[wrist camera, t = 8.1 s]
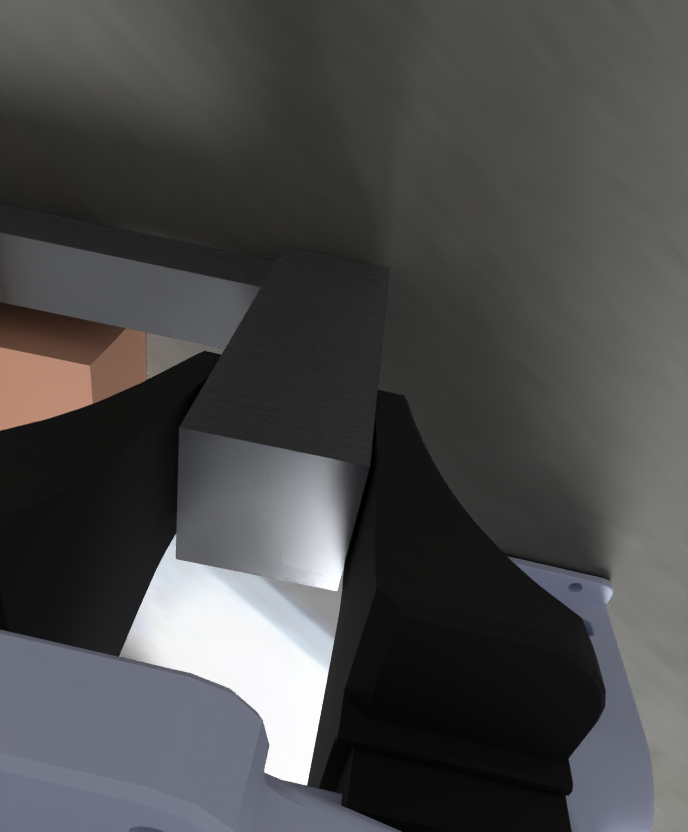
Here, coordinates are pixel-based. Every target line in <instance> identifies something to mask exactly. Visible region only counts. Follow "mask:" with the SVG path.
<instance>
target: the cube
mask: <svg viewBox="0 0 688 832" xmlns="http://www.w3.org/2000/svg"><path fill="white" fill-rule="evenodd" d="M144 381H146V332H142V331H137V330H132V329H128V328H123V327H118V326H113V325H108V324H103V323H99V322H94V321H89V320H84V319H79V318H74V317H70V316H65V315H60V314H55V313H50V312H46V311H41V310H36V309H31V308H26V307H21V306H17V305H12V304H7V303H2V302H0V431H1V430H5V429H9V428H13V427H17V426H21V425H25V424H29V423H33V422H37V421H41V420H45V419H48V418H52V417H55V416H58V415H61V414H64V413H67V412H70V411H74V410H77V409H80V408H82V407H85V406H88V405H91V404H93V403H96V402H98V401H101V400H103V399H106V398H108V397H110V396H112V395H115V394H117V393H119V392H122V391H124V390H126V389H128V388H131V387H133V386H135V385H137V384H140V383H142V382H144Z"/></svg>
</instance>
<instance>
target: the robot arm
mask: <svg viewBox="0 0 688 832" xmlns="http://www.w3.org/2000/svg"><path fill="white" fill-rule="evenodd" d="M220 357H221V355H220V354H216V353H212V352H207V351H203V352H201V353H199V354H197V355H195V356H193V357H191V358H189V359H187V360H185V361H183V362H181V363H179V364H177V365H175V366H173V367H172V368H170V369H168V370H166V371H164V372H162V373H160V374H158V375H156V376H154V377H152V378H150V379H148V380H146V381H144V382H142V383H140V384H137V385H135V386H133V387H131V388H128V389H126V390H124V391H122V392H119V393H117V394H115V395H112V396H110V397H108V398H106V399H103V400H101V401H98V402H96V403H93V404H91V405H88V406H85V407H82V408H80V409H77V410H74V411H70V412H67V413H64V414H61V415H58V416H55V417H52V418H48V419H45V420H41V421H37V422H33V423H29V424H25V425H21V426H17V427H13V428H9V429H5V430H1V431H0V832H651V831H652V825H653V813H654V785H653V773H652V764H651V759H650V753H649V748H648V744H647V741H646V737H645V733H644V730H643V727H642V723H641V720H640V717H639V714H638V710H637V707H636V704H635V700H634V697H633V694H632V691H631V687H630V684H629V681H628V677H627V674H626V671H625V668H624V664H623V661H622V658H621V655H620V651H619V648H618V645H617V641H616V638H615V635H614V632H613V628H612V625H611V622H610V618H609V615H608V612H607V609H606V604H607V603H608V601H609V600H610V598H611V597H612V595H613V588H612V585H611V583H610V582H609V581H608V580H607V579H604V578H600V577H596V576H592V575H587V574H583V573H579V572H574V571H570V570H565V569H561V568H557V567H552V566H548V565H544V564H539V563H535V562H530V561H526V560H522V559H517V558H513V557H509V556H506V555H505V554H504V553H503V552H502V551H501V550H500V549H499V548H498V547H497V546H496V545H495V544H494V543H493V542H492V541H491V539H490V538H489V537H488V536H487V535H486V534H485V533H484V532H483V531H482V530H481V529H480V527H479V526H478V525H477V524H476V523H475V522H474V521H473V519H472V518H471V517H470V516H469V515H468V513H467V512H466V511H465V509H464V508H463V507H462V505H461V504H460V503H459V501H458V500H457V499H456V497H455V496H454V495H453V493H452V492H451V490H450V489H449V487H448V486H447V484H446V482H445V481H444V479H443V477H442V476H441V474H440V472H439V471H438V469H437V467H436V465H435V463H434V462H433V460H432V458H431V456H430V454H429V452H428V450H427V448H426V446H425V444H424V442H423V440H422V438H421V435H420V433H419V431H418V429H417V426H416V424H415V421H414V419H413V416H412V413H411V411H410V408H409V405H408V401H407V400H406V398H405V397H404V396H403V395H399V394H394V393H390V392H385V391H381V390H377V401H376V411H375V421H374V431H373V441H372V452H371V462H370V468H369V472H368V476H367V480H366V484H365V487H364V491H363V495H362V499H361V502H360V506H359V510H358V514H357V518H356V521H355V525H354V529H353V533H352V536H351V540H350V544H349V548H348V551H347V555H346V559H345V563H344V574H343V587H342V597H341V605H340V612H339V618H338V623H337V629H336V634H335V640H334V645H333V651H332V657H331V662H330V667H329V673H328V678H327V684H326V689H325V695H324V700H323V705H322V711H321V716H320V721H319V726H318V732H317V737H316V742H315V748H314V753H313V758H312V763H311V769H310V774H309V779H308V784H307V786H305V785H301V784H297V783H292V782H288V781H284V780H280V779H278V778H276V777H273V776H271V775H269V774H266V773H264V768H265V763H266V758H267V754H268V749H269V742H268V739H267V735H266V731H265V727H264V724H263V720H262V718H261V717H260V716H259V714H258V713H257V712H256V711H255V710H254V709H253V708H252V707H251V706H249V705H248V704H247V703H246V702H245V701H244V700H243V699H241V698H240V697H239V696H238V695H237V694H236V693H234V692H233V691H232V690H231V689H229V688H227V687H224V686H222V685H219V684H217V683H214V682H212V681H209V680H206V679H204V678H201V677H199V676H196V675H194V674H191V673H187V672H183V671H178V670H174V669H169V668H165V667H161V666H156V665H152V664H148V663H143V662H139V661H135V660H130V659H126V658H121V657H119V655H120V652H121V650H122V648H123V645H124V643H125V640H126V638H127V636H128V633H129V631H130V629H131V626H132V624H133V621H134V619H135V617H136V614H137V612H138V610H139V607H140V605H141V603H142V601H143V598H144V596H145V594H146V591H147V589H148V587H149V585H150V582H151V580H152V578H153V576H154V573H155V571H156V569H157V567H158V565H159V563H160V561H161V559H162V557H163V555H164V554H165V552H166V550H167V548H168V546H169V545H170V543H171V541H172V540H173V538H174V536H175V534H176V532H177V492H178V452H179V427H180V425H181V423H182V422H183V420H184V418H185V417H186V415H187V413H188V411H189V410H190V408H191V406H192V405H193V403H194V401H195V399H196V398H197V396H198V394H199V393H200V391H201V389H202V387H203V386H204V384H205V382H206V381H207V379H208V377H209V375H210V374H211V372H212V370H213V369H214V367H215V365H216V363H217V362H218V360H219V358H220ZM573 583H578V584H574V585H573Z"/></svg>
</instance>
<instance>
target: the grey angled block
mask: <svg viewBox="0 0 688 832" xmlns="http://www.w3.org/2000/svg"><path fill="white" fill-rule="evenodd" d="M388 278H389V268H388V267H383V266H378V265H374V264H369V263H364V262H360V261H355V260H350V259H345V258H341V257H336V256H331V255H326V254H322V253H317V252H312V251H307V250H303V249H298V248H293V247H288V246H285V247H284V249H283V250H282V252H281V254H280V255H279V257H278V259H277V261H272V260H267V259H262V258H258V257H253V256H248V255H243V254H239V253H234V252H229V251H224V250H220V249H215V248H210V247H205V246H201V245H196V244H191V243H186V242H182V241H177V240H172V239H167V238H163V237H158V236H153V235H148V234H144V233H139V232H134V231H129V230H124V229H120V228H115V227H110V226H105V225H101V224H96V223H91V222H86V221H82V220H77V219H72V218H67V217H63V216H58V215H53V214H48V213H44V212H39V211H34V210H29V209H25V208H20V207H15V206H10V205H6V204H1V203H0V302H2V303H7V304H12V305H17V306H21V307H26V308H31V309H36V310H41V311H46V312H50V313H55V314H60V315H65V316H70V317H74V318H79V319H84V320H89V321H94V322H99V323H103V324H108V325H113V326H118V327H123V328H128V329H132V330H137V331H142V332H147V333H152V334H157V335H161V336H166V337H171V338H176V339H181V340H186V341H190V342H195V343H200V344H205V345H210V346H214V347H219V348H224V349H225V350H224V351H223V353H222V355H221V357H220V358H219V360H218V362H217V363H216V365H215V367H214V369H213V370H212V372H211V374H210V375H209V377H208V379H207V381H206V382H205V384H204V386H203V387H202V389H201V391H200V393H199V394H198V396H197V398H196V399H195V401H194V403H193V405H192V406H191V408H190V410H189V411H188V413H187V415H186V417H185V418H184V420H183V422H182V423H181V425H180V427H179V452H178V492H177V532H176V559H179V560H184V561H189V562H194V563H199V564H204V565H209V566H214V567H219V568H224V569H229V570H234V571H239V572H244V573H249V574H254V575H259V576H264V577H269V578H274V579H279V580H284V581H289V582H294V583H299V584H304V585H309V586H314V587H319V588H324V589H329V590H334V591H337V589H338V585H339V582H340V578H341V574H342V570H343V567H344V563H345V559H346V555H347V551H348V548H349V544H350V540H351V536H352V533H353V529H354V525H355V521H356V518H357V514H358V510H359V506H360V502H361V499H362V495H363V491H364V487H365V484H366V480H367V476H368V472H369V468H370V462H371V452H372V441H373V431H374V421H375V411H376V401H377V390H378V380H379V370H380V360H381V350H382V340H383V329H384V319H385V309H386V299H387V289H388Z"/></svg>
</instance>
